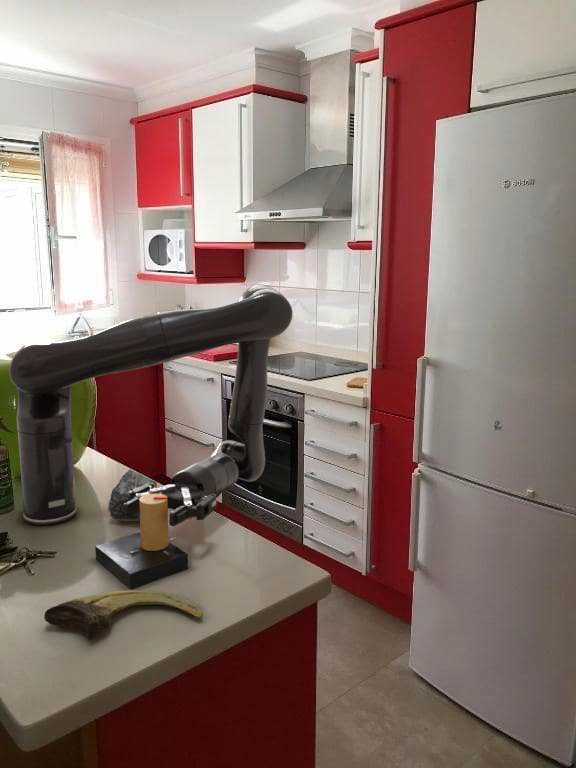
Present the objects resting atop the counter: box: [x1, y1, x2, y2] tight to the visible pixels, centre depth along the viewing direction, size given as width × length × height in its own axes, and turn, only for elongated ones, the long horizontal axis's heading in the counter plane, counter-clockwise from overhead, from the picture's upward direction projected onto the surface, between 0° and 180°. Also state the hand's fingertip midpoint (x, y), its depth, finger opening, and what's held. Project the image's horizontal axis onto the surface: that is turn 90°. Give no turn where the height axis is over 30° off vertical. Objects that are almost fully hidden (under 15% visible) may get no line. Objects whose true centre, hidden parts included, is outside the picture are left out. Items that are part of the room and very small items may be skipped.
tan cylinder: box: [139, 494, 170, 551], centre depth 102 cm, size 4×4×8 cm
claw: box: [43, 589, 204, 640], centre depth 87 cm, size 20×10×3 cm, turn 113°
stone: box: [107, 469, 158, 522], centre depth 119 cm, size 10×10×10 cm
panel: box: [94, 531, 189, 590], centre depth 102 cm, size 12×12×3 cm
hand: (148, 515), depth 100 cm, fingers open, 8 cm apart
